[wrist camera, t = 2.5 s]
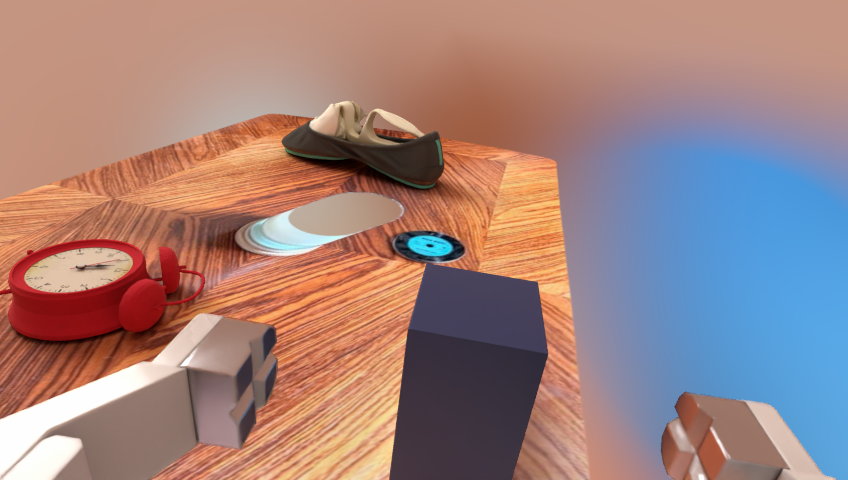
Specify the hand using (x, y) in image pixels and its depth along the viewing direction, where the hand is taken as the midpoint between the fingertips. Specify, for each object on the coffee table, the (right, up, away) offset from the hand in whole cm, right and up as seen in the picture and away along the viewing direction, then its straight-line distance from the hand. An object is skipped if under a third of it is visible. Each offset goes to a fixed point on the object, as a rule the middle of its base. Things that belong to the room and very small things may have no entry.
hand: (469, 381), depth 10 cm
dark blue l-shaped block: (+1, -10, +24) cm, 26 cm away
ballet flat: (-12, +15, +73) cm, 75 cm away
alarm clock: (-28, -3, +32) cm, 43 cm away
